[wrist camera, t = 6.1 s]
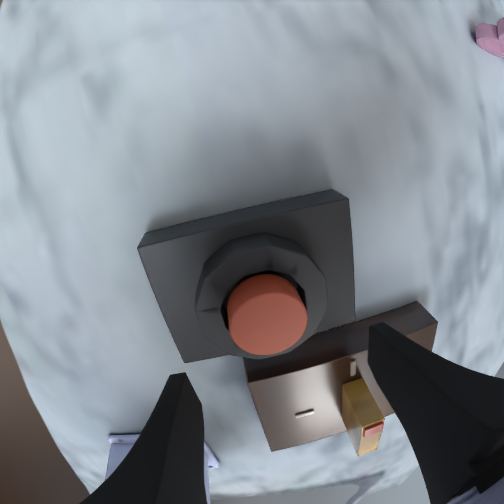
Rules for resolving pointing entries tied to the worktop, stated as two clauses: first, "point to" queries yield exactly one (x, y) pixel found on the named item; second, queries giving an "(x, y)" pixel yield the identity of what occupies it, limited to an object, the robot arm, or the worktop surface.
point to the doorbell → (252, 268)
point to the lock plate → (324, 377)
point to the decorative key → (491, 37)
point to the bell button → (266, 315)
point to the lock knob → (361, 416)
